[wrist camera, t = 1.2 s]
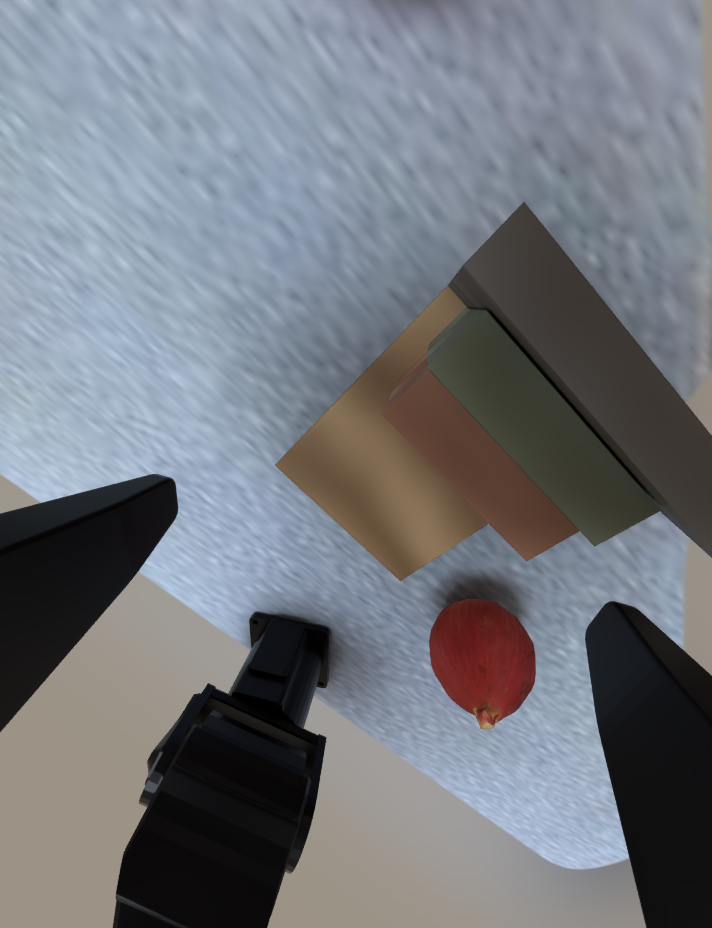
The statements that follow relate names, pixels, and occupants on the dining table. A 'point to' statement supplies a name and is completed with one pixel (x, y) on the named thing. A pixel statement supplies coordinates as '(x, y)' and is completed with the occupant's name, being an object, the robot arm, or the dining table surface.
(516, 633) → the pomegranate
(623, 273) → the dining table surface
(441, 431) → the book shelf
